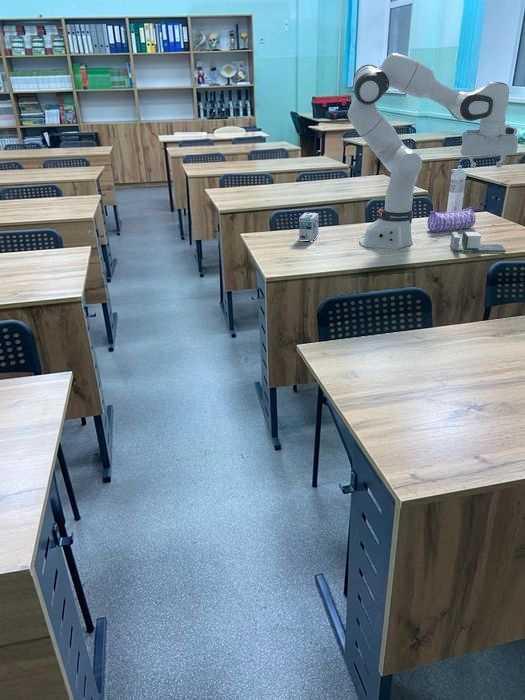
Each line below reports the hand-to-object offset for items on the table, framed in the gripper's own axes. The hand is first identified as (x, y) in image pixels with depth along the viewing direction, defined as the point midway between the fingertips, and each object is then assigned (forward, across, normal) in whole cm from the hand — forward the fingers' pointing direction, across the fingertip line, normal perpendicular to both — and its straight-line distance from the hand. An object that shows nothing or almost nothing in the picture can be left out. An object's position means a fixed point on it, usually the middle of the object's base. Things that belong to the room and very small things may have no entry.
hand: (485, 167), depth 205 cm
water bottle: (+31, -2, +44) cm, 54 cm away
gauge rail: (+31, 0, -7) cm, 32 cm away
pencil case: (+32, -6, +24) cm, 40 cm away
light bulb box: (+31, -70, +7) cm, 77 cm away
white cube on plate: (+30, -3, -7) cm, 30 cm away
